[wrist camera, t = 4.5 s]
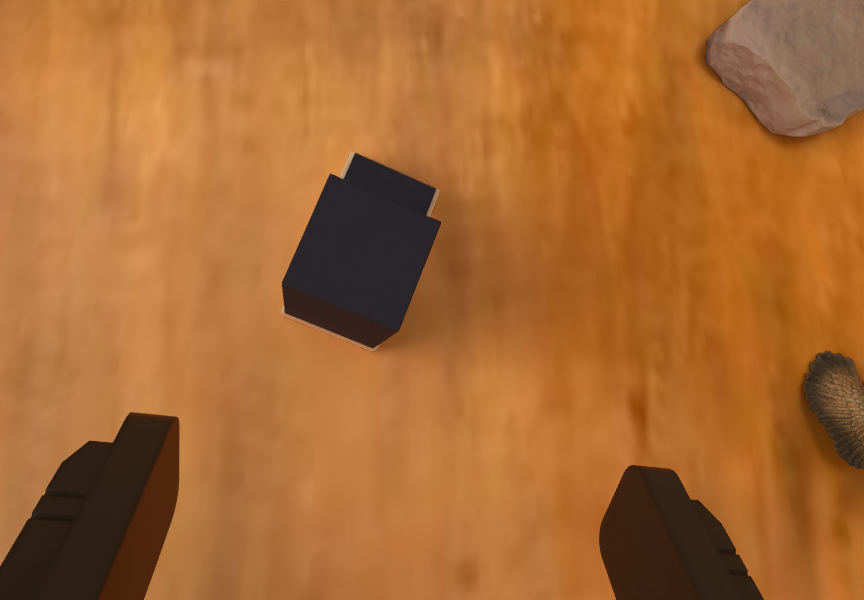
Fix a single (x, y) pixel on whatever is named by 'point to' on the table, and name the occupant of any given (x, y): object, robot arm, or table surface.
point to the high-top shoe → (361, 253)
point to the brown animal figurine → (838, 403)
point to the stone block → (794, 62)
